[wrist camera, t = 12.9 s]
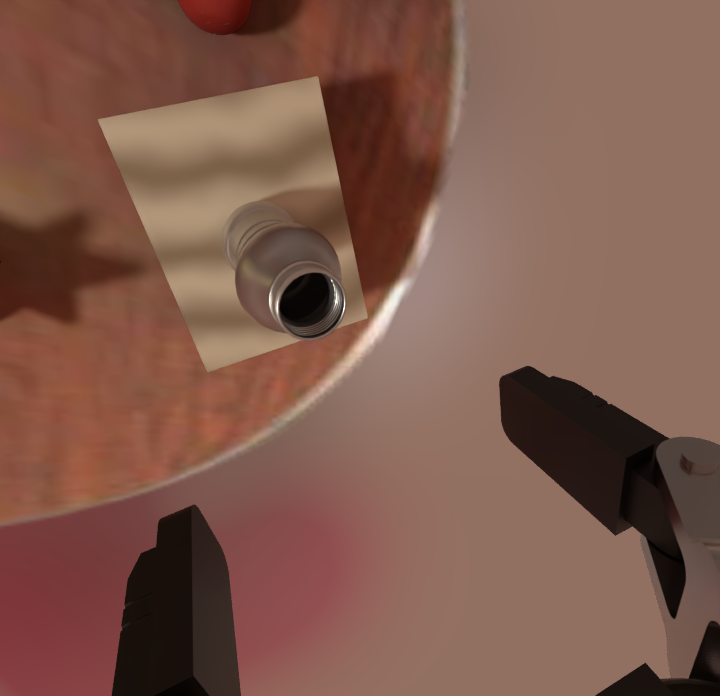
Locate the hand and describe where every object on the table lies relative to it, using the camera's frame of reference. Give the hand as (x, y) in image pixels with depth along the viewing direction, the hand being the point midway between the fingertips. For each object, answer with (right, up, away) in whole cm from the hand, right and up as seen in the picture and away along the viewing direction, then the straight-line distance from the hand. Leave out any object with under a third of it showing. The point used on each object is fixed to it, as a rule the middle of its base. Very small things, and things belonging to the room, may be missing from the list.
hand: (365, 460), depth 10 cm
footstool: (-12, +16, +34) cm, 39 cm away
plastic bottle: (-9, +13, +27) cm, 32 cm away
